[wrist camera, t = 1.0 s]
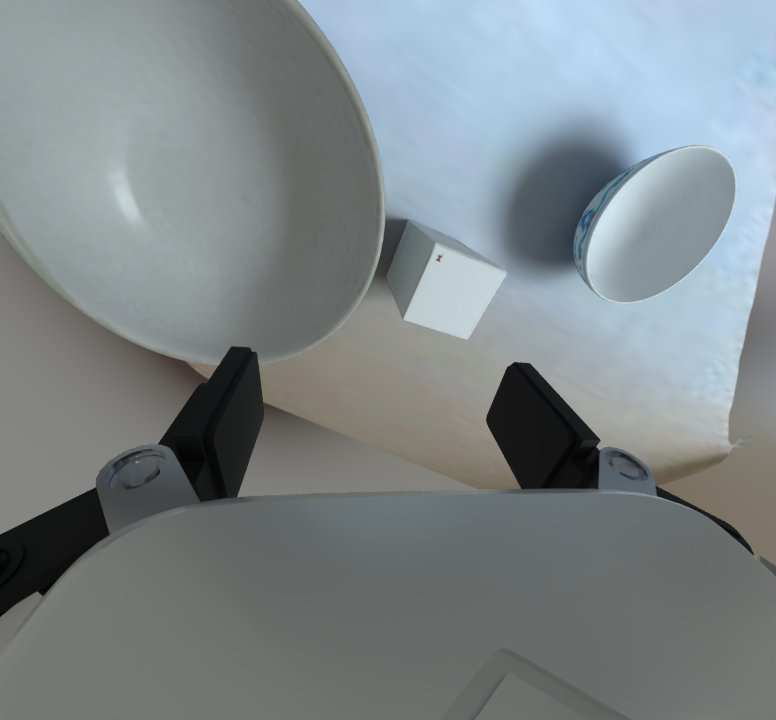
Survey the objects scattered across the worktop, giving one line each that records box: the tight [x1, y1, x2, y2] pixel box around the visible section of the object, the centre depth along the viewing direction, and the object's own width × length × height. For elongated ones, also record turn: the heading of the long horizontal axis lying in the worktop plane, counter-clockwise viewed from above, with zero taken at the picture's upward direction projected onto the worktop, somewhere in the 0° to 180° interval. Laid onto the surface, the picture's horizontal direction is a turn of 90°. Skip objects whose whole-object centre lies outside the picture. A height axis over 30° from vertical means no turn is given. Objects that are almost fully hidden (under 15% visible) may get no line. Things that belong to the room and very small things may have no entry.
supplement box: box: [386, 220, 507, 340], centre depth 31 cm, size 7×7×13 cm
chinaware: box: [573, 145, 737, 304], centre depth 34 cm, size 15×15×8 cm
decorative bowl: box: [0, 0, 386, 366], centre depth 26 cm, size 27×27×12 cm
